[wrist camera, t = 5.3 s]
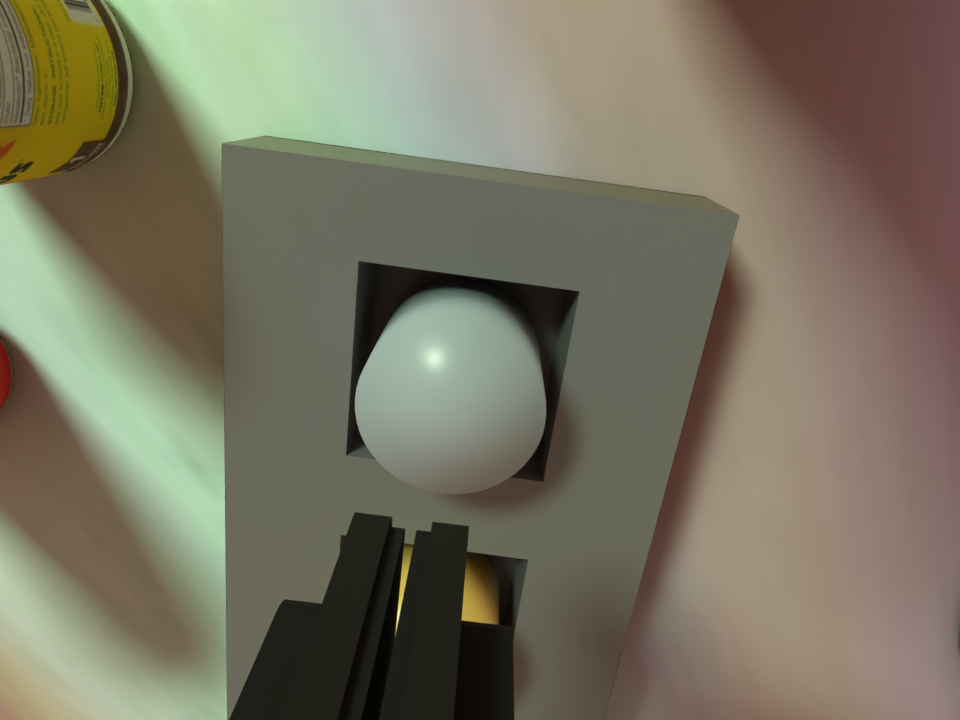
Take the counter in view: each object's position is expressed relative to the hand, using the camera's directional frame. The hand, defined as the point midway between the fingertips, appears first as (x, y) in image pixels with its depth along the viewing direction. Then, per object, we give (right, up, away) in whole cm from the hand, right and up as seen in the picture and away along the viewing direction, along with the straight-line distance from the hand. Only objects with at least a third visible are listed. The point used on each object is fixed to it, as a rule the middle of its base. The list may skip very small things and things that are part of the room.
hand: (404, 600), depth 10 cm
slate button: (+1, +4, +9) cm, 10 cm away
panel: (0, -3, +13) cm, 13 cm away
